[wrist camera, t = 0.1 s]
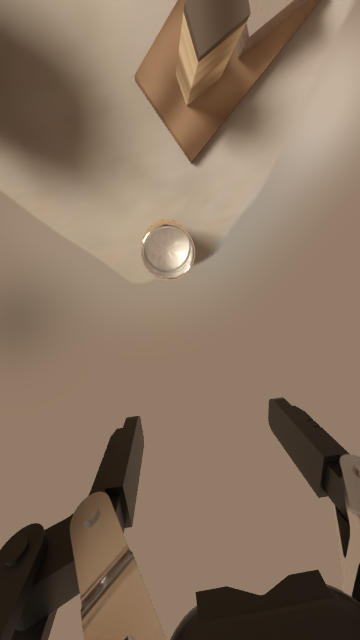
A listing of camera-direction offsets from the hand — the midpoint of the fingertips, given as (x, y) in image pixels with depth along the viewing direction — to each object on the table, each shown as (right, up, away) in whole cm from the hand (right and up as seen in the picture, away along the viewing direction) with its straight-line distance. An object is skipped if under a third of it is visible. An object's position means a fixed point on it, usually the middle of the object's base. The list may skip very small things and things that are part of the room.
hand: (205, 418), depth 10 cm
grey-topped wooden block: (+1, +38, +12) cm, 39 cm away
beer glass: (-5, +22, +23) cm, 32 cm away
